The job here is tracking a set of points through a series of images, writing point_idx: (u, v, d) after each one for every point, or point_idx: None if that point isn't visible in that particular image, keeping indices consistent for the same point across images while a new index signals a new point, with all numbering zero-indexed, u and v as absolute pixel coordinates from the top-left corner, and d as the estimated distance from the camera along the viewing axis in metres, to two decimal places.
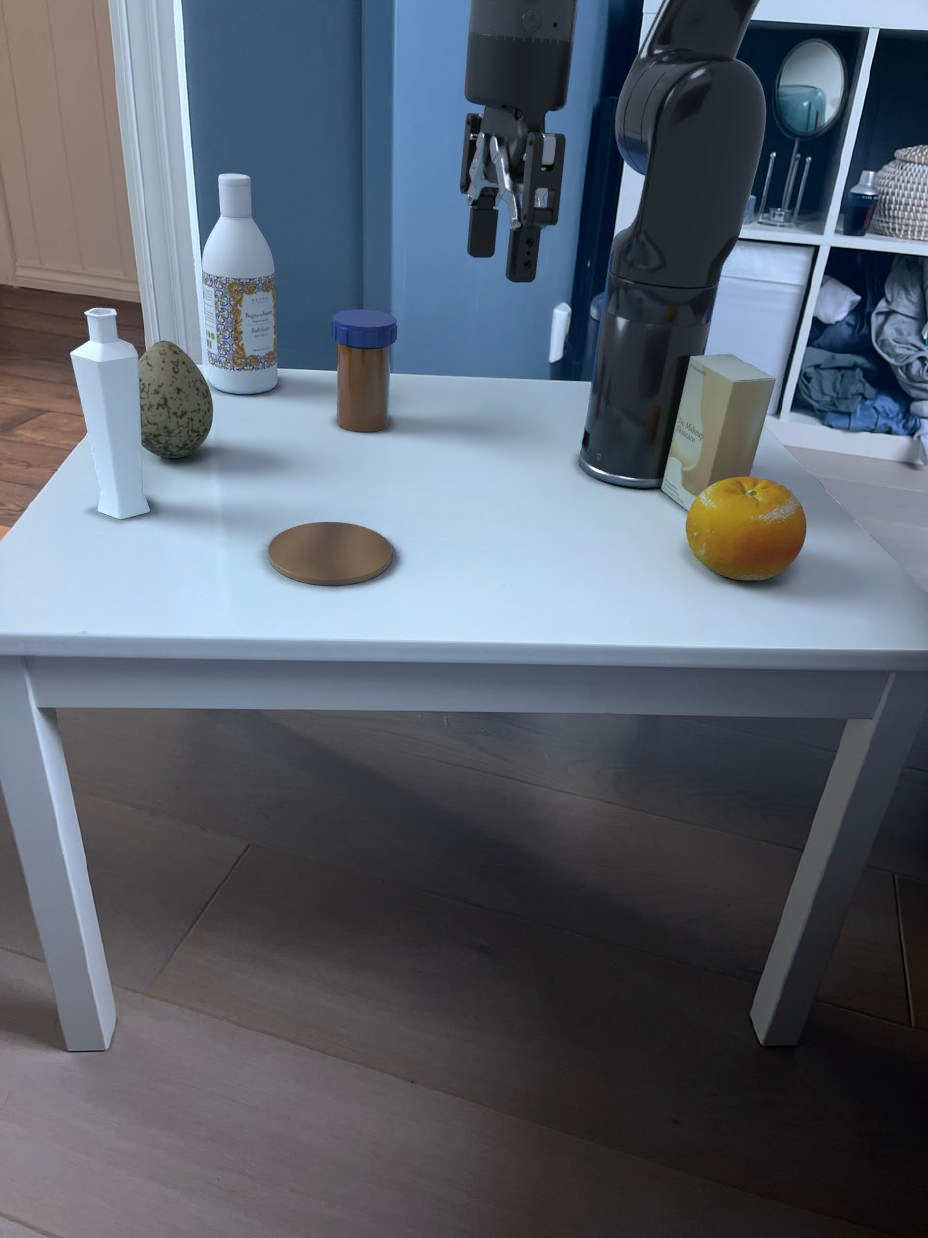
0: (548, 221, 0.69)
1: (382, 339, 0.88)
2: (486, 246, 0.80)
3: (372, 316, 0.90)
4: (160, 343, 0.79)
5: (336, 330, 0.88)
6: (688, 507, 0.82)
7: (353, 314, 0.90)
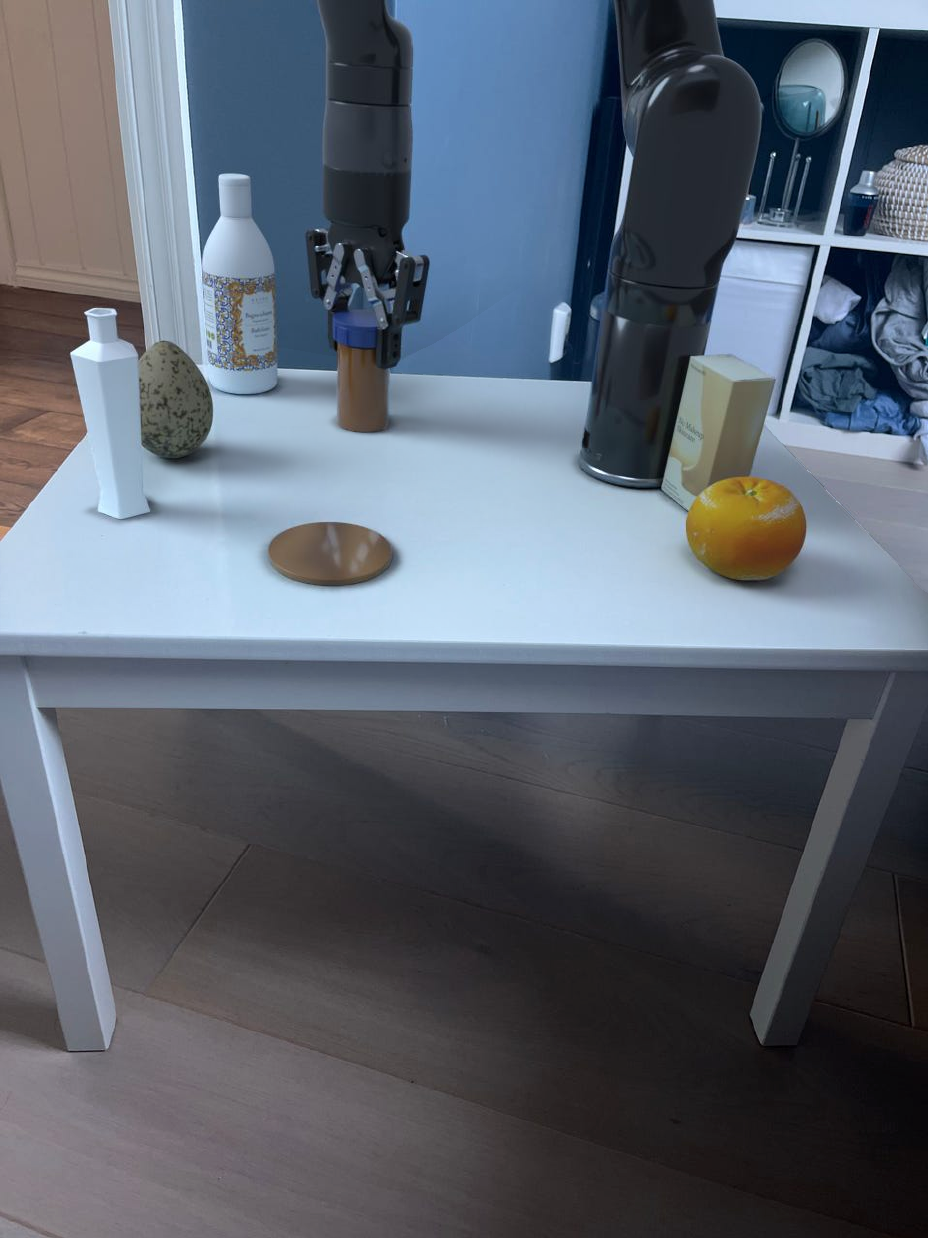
0: (414, 320, 0.86)
1: None
2: None
3: (372, 316, 0.90)
4: (160, 343, 0.79)
5: (336, 330, 0.88)
6: (688, 507, 0.82)
7: (353, 314, 0.90)
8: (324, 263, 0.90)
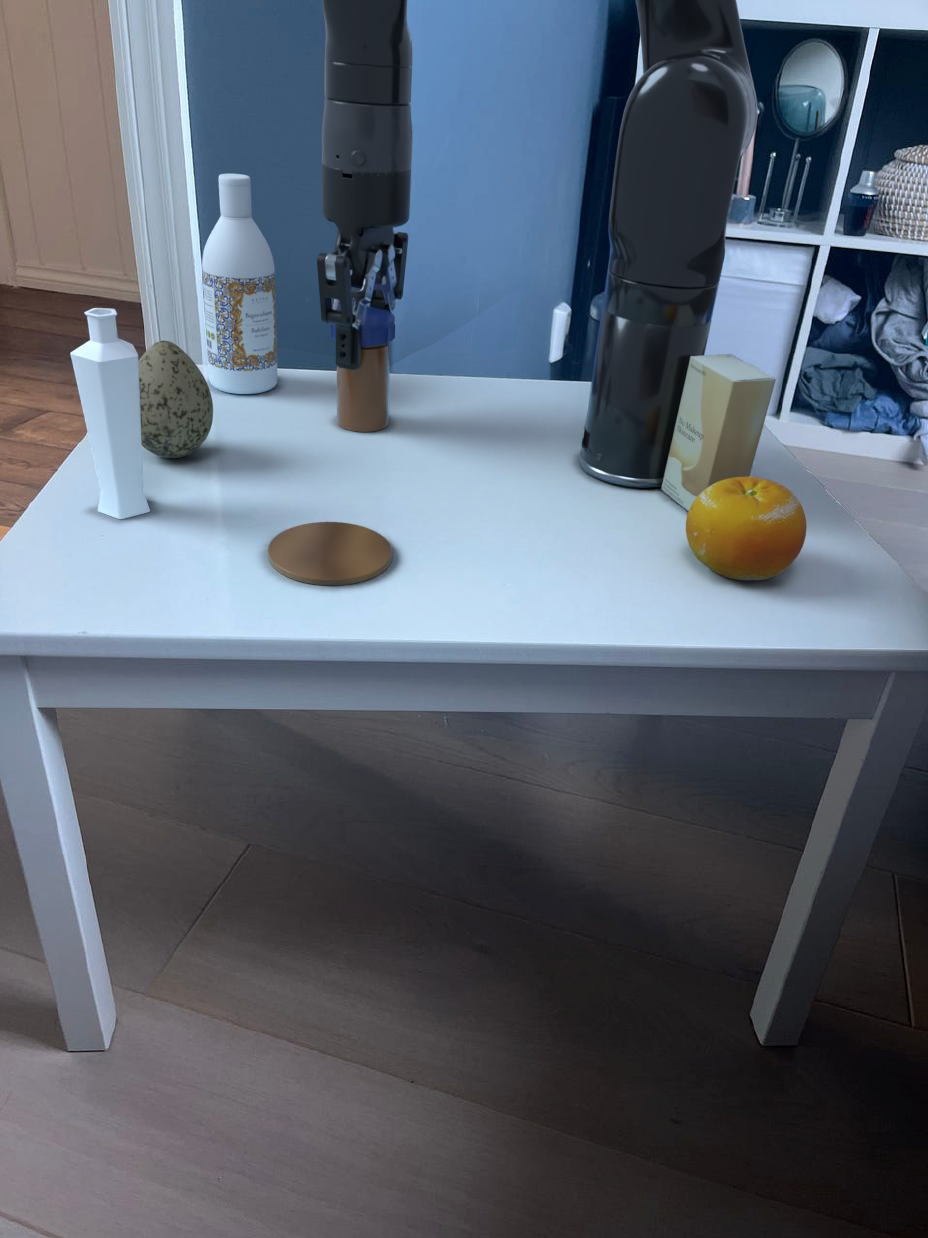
0: None
1: None
2: None
3: None
4: (160, 343, 0.79)
5: (387, 332, 0.88)
6: (688, 507, 0.82)
7: None
8: None
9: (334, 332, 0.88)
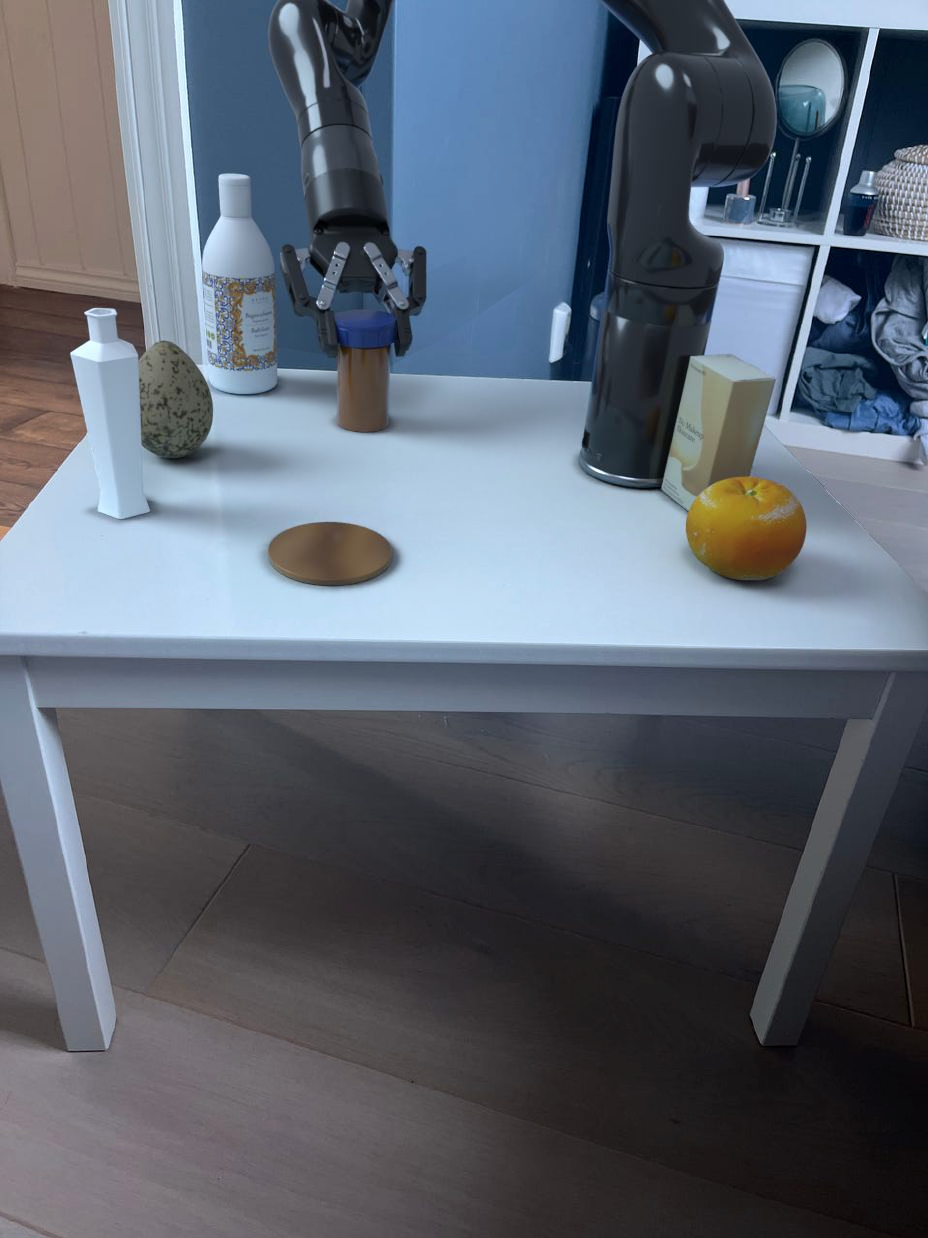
0: (421, 308, 0.92)
1: None
2: None
3: (354, 316, 0.89)
4: (160, 343, 0.79)
5: None
6: (688, 507, 0.82)
7: (360, 322, 0.88)
8: None
9: (338, 336, 0.88)
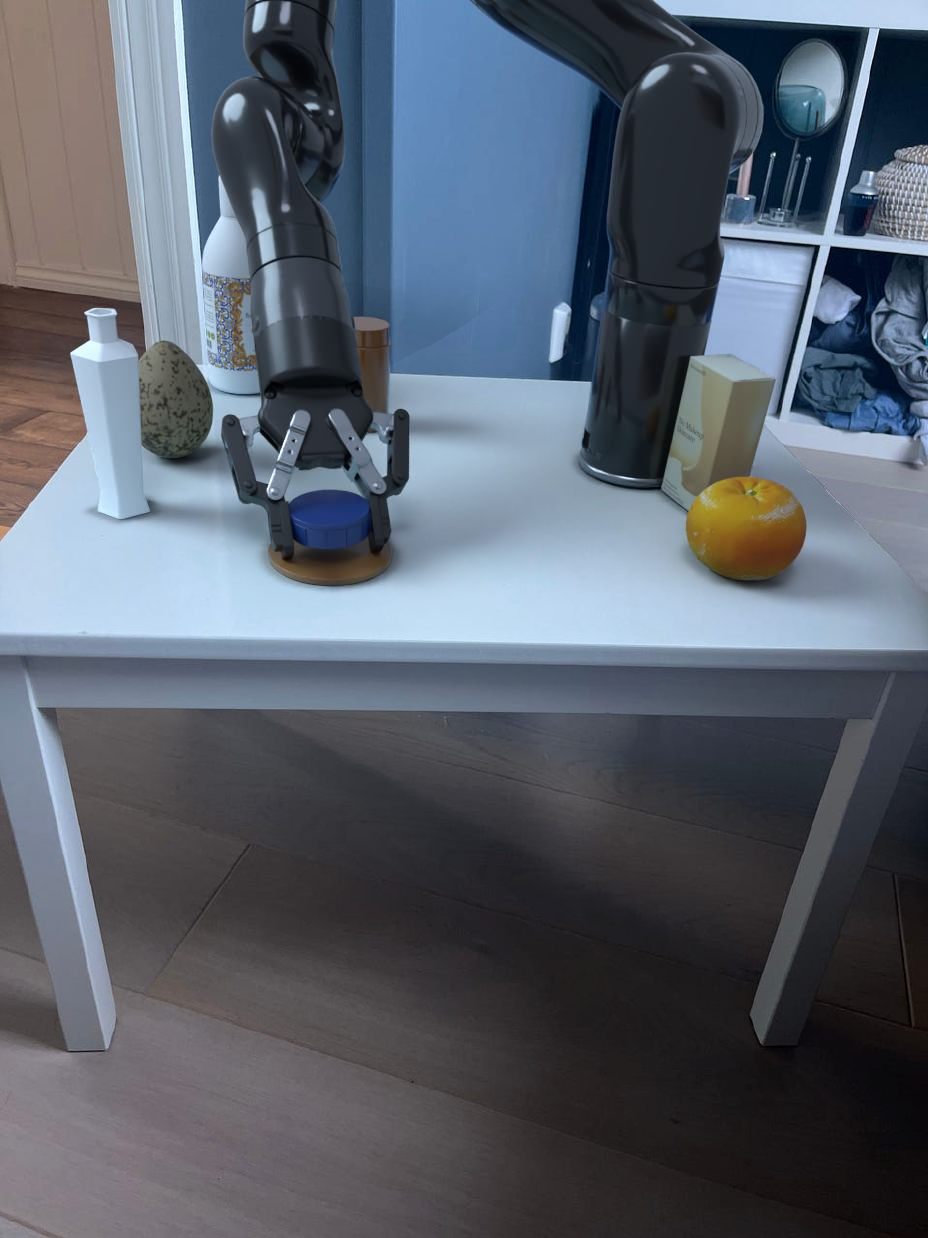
0: None
1: None
2: None
3: (316, 504, 0.70)
4: (160, 343, 0.79)
5: (363, 527, 0.69)
6: (688, 507, 0.82)
7: (323, 515, 0.68)
8: None
9: (295, 533, 0.69)
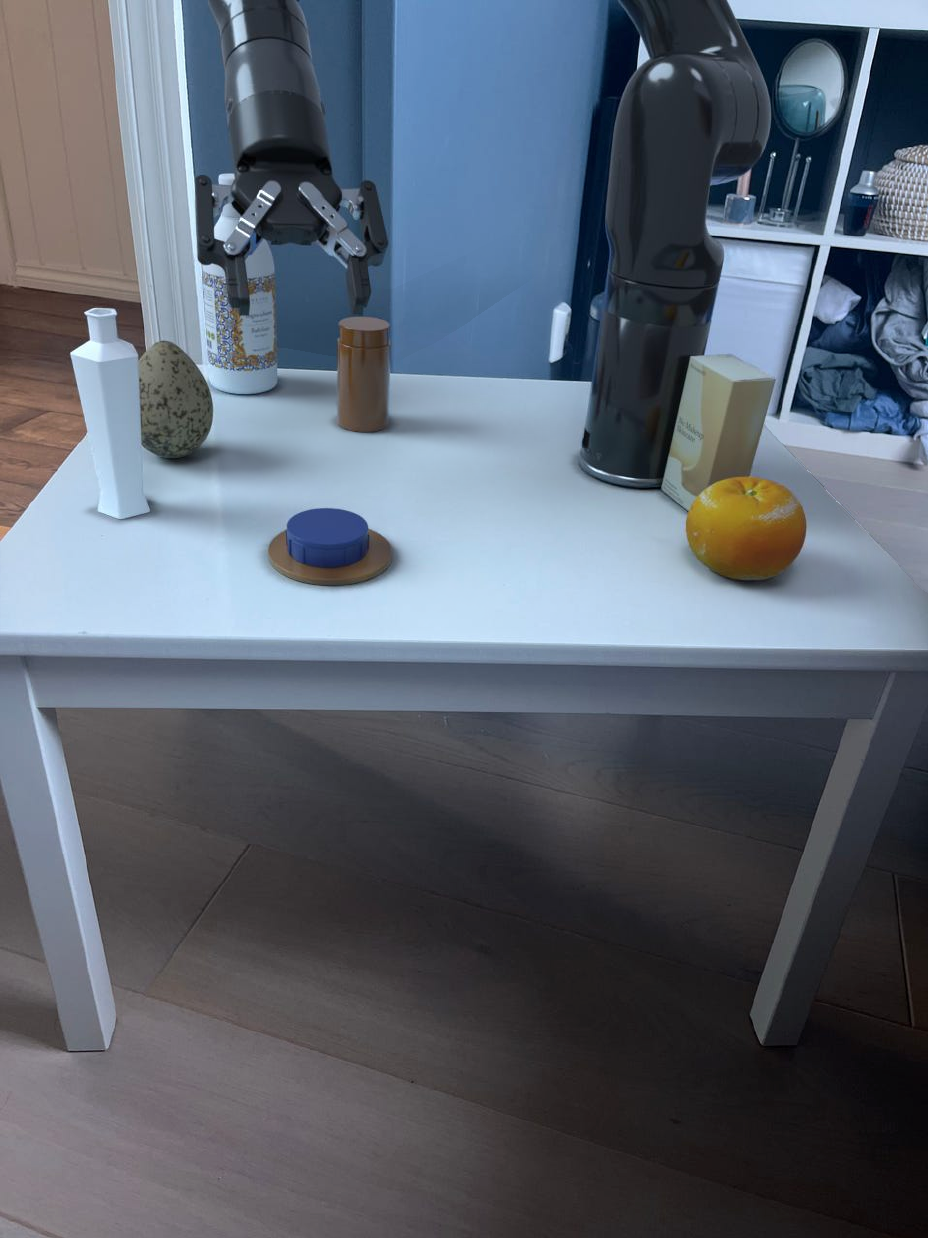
0: (383, 257, 0.76)
1: None
2: None
3: (315, 523, 0.70)
4: (160, 343, 0.79)
5: (361, 547, 0.70)
6: (688, 507, 0.82)
7: (322, 534, 0.69)
8: None
9: (293, 551, 0.69)
